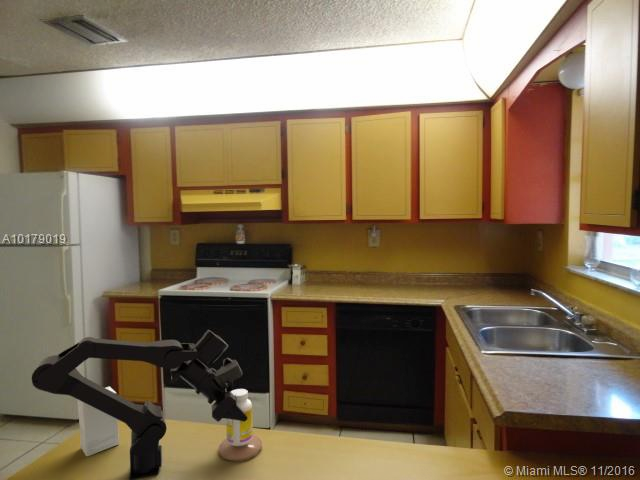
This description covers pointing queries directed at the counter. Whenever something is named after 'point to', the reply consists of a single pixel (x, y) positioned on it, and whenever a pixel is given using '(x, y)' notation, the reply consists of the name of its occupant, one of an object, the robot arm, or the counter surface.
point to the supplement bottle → (236, 429)
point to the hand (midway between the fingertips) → (244, 413)
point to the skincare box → (96, 428)
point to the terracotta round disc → (240, 450)
